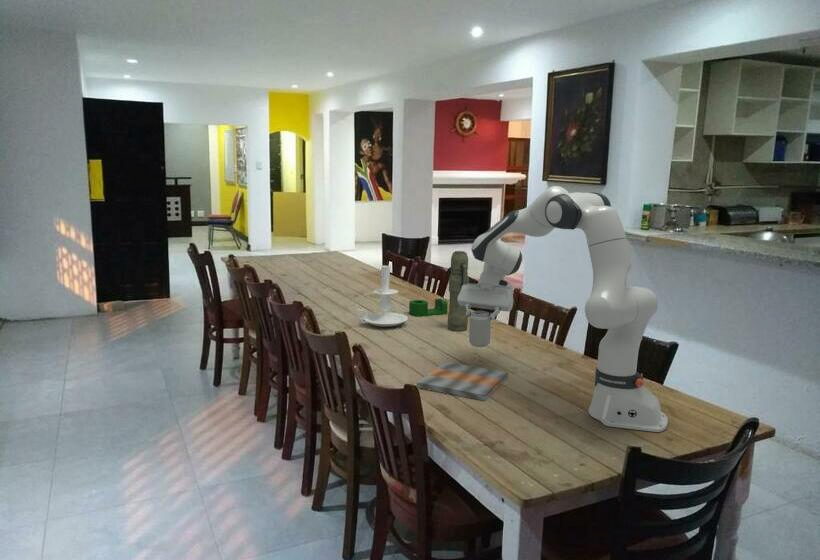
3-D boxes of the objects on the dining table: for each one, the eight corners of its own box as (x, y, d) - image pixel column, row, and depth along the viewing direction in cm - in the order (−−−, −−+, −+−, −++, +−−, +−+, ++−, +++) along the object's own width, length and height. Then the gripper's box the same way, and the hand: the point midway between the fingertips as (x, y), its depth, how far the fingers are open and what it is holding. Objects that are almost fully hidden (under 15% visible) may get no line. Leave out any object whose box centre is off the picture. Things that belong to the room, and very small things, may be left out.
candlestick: (347, 322, 286) (347, 263, 280) (394, 316, 298) (395, 259, 292) (366, 334, 268) (366, 270, 263) (415, 327, 280) (416, 266, 275)
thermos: (458, 324, 286) (460, 249, 279) (472, 330, 276) (475, 253, 269) (442, 326, 282) (444, 250, 275) (456, 333, 271) (458, 254, 265)
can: (478, 340, 228) (479, 308, 226) (494, 344, 223) (495, 312, 221) (464, 344, 223) (465, 312, 221) (480, 349, 218) (481, 316, 216)
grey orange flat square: (507, 377, 218) (507, 372, 217) (484, 401, 197) (484, 395, 196) (444, 366, 228) (444, 361, 228) (416, 387, 207) (416, 382, 206)
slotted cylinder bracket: (413, 317, 297) (413, 304, 296) (406, 313, 305) (406, 300, 304) (447, 314, 304) (447, 302, 303) (439, 310, 312) (439, 298, 311)
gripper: (461, 277, 229) (450, 309, 223) (514, 283, 221) (505, 316, 214) (465, 287, 234) (454, 318, 228) (517, 293, 225) (508, 325, 219)
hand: (479, 317), depth 221 cm, fingers closed on can, 7 cm apart
